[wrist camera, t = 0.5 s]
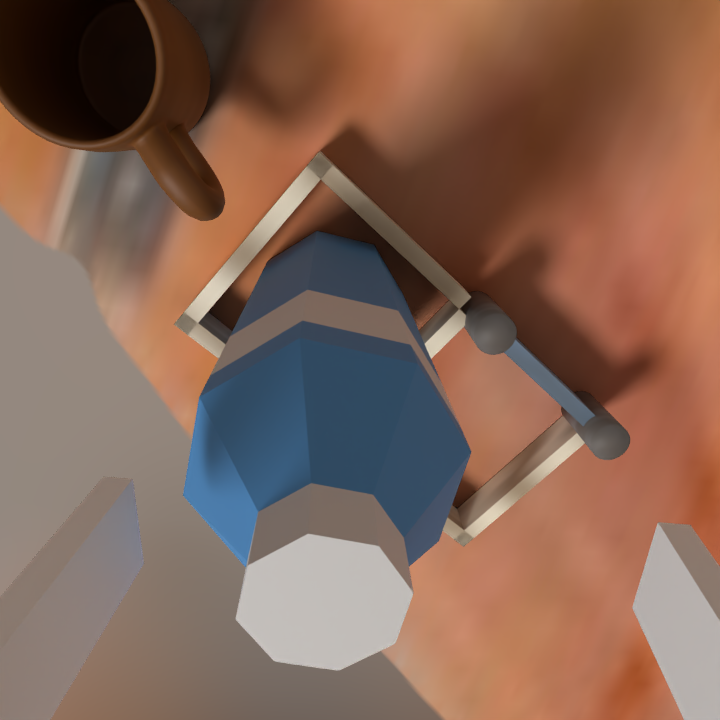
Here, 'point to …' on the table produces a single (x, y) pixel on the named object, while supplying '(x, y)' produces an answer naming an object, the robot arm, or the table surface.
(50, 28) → the mug
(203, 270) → the table surface
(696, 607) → the robot arm
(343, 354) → the water bottle
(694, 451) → the table surface
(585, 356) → the table surface
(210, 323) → the frame
